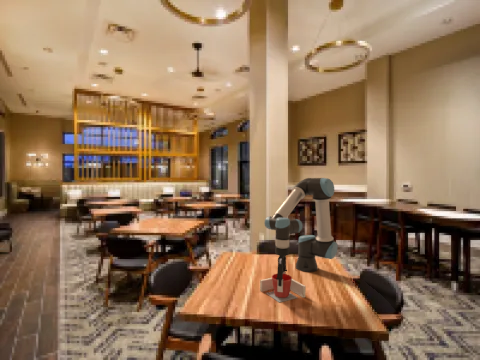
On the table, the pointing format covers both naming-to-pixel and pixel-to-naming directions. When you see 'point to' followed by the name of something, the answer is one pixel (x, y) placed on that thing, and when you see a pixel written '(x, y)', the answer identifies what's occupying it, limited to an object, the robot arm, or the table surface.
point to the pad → (281, 298)
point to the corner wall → (295, 287)
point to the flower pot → (286, 285)
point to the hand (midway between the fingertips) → (281, 287)
